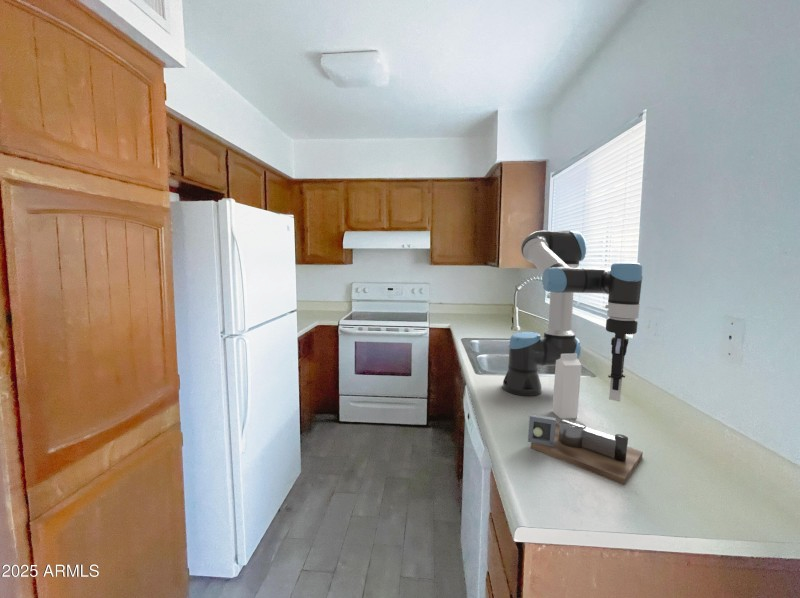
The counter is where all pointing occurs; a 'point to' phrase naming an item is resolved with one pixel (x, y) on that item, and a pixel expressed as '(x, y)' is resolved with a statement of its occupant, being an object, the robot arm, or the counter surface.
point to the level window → (541, 430)
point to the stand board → (592, 459)
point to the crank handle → (592, 439)
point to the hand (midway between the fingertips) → (614, 399)
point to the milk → (566, 386)
